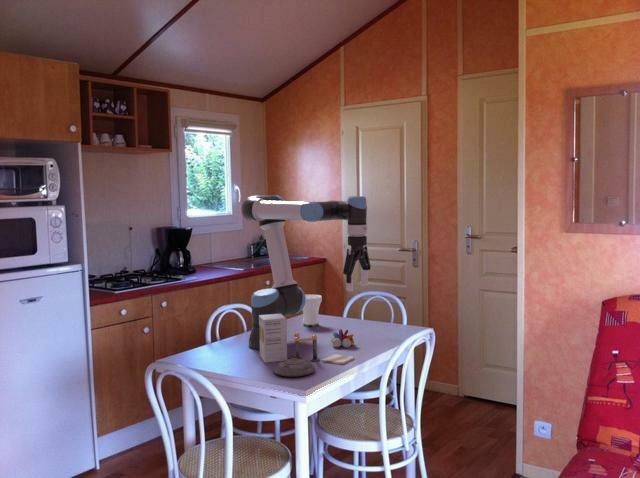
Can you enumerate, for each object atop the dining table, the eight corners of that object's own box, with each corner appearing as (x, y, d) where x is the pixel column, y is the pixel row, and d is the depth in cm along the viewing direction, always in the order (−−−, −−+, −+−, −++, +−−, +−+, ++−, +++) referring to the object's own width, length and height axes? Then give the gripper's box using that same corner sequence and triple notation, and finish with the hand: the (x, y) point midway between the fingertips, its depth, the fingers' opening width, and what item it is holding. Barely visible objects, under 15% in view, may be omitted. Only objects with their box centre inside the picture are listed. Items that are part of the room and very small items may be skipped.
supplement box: (259, 356, 243) (258, 314, 241) (282, 354, 245) (280, 313, 244) (264, 363, 233) (263, 319, 232) (288, 360, 236) (286, 317, 235)
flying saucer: (288, 382, 210) (287, 366, 209) (265, 372, 222) (265, 357, 222) (323, 374, 219) (323, 358, 218) (300, 365, 231) (299, 350, 230)
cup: (326, 324, 299) (326, 295, 298) (314, 328, 290) (313, 299, 289) (307, 321, 305) (306, 293, 304) (295, 326, 296) (294, 297, 295)
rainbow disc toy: (352, 349, 251) (352, 331, 251) (329, 348, 253) (329, 331, 253) (355, 344, 260) (355, 327, 259) (333, 343, 262) (332, 326, 261)
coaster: (322, 361, 233) (322, 359, 233) (333, 356, 241) (333, 354, 241) (342, 364, 229) (342, 362, 229) (354, 358, 236) (354, 356, 236)
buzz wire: (282, 362, 234) (281, 336, 233) (296, 356, 242) (295, 331, 241) (308, 366, 228) (307, 340, 227) (321, 359, 236) (320, 334, 235)
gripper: (351, 238, 229) (352, 294, 231) (378, 233, 251) (378, 284, 253) (334, 237, 233) (334, 292, 234) (362, 232, 254) (362, 283, 256)
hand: (357, 288), depth 244 cm, fingers open, 13 cm apart
